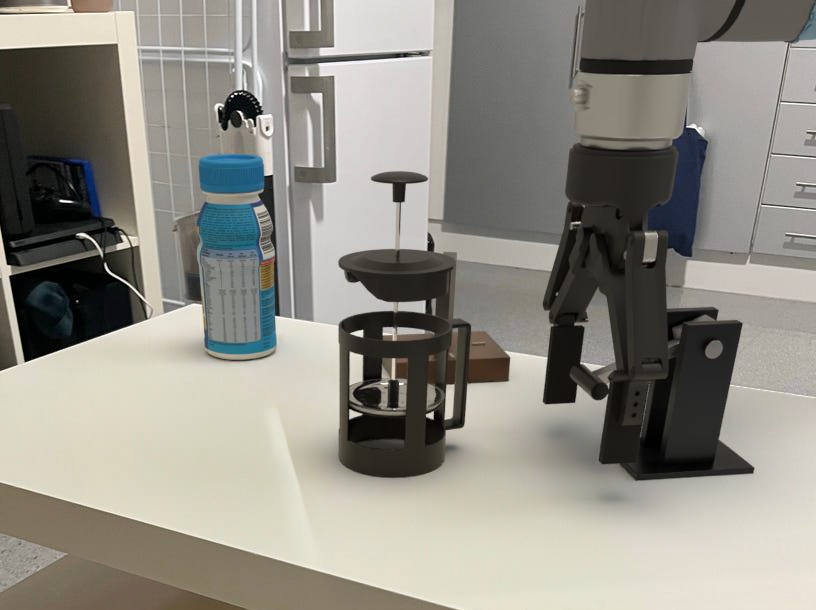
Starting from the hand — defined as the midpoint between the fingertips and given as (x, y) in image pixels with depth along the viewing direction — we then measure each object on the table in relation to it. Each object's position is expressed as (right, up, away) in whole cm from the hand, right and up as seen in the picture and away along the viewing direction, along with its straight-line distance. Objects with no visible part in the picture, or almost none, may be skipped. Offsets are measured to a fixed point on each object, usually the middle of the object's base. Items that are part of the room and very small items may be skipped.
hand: (585, 430), depth 83 cm
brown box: (-9, +12, +27) cm, 31 cm away
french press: (-15, -3, +4) cm, 16 cm away
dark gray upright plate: (-9, +14, +25) cm, 30 cm away
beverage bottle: (-31, +16, +33) cm, 48 cm away
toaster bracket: (+8, -3, +3) cm, 9 cm away
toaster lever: (+5, +4, -2) cm, 7 cm away
